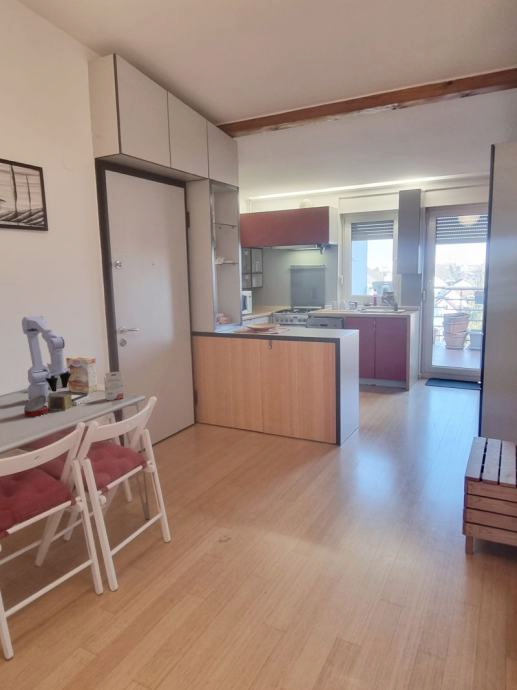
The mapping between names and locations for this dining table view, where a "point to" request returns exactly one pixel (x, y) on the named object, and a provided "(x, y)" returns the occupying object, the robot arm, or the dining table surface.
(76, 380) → the coffeecake box
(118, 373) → the ink cartridge box
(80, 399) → the stand
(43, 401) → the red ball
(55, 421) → the dining table surface
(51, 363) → the robot arm
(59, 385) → the skincare box
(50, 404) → the housing
